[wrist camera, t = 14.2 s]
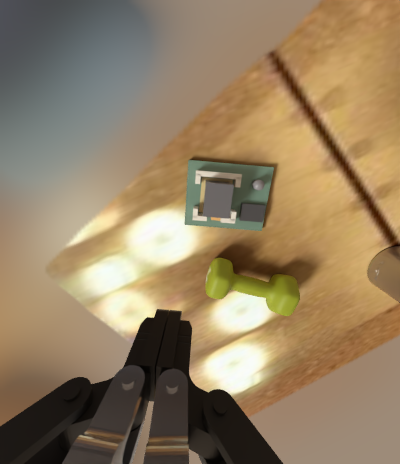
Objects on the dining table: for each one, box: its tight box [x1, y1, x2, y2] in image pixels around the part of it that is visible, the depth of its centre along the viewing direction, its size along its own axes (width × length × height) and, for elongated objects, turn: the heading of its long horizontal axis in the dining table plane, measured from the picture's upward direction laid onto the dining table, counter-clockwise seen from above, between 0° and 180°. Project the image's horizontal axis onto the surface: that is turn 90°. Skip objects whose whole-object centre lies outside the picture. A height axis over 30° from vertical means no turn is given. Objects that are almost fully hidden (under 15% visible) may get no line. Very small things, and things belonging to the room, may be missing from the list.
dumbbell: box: [206, 258, 300, 316], centre depth 36 cm, size 16×8×7 cm, turn 74°
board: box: [185, 160, 274, 231], centre depth 33 cm, size 14×11×3 cm
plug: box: [203, 180, 234, 221], centre depth 31 cm, size 4×6×5 cm
